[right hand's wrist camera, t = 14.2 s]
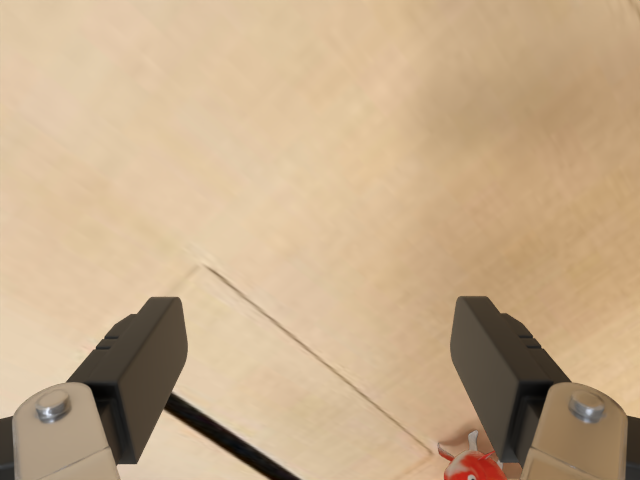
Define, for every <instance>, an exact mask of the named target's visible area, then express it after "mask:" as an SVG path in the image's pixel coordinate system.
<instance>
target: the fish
mask: <svg viewBox="0 0 640 480" xmlns="http://www.w3.org/2000/svg"><path fill="white" fill-rule="evenodd" d="M477 436H478V431H477V430H475V431H473V432H472V433H470V434H469V435H468V441H469V450H465V451H464V452H462V453H460V454H459V455H458V456H456V457H455V458H454V457H453V456H452V455H451V454H449V453H447V452H446V451H444V450H443V449H441V448H440V447H439V443H438V451H439V454H440V455H441V456H442V457H444V458H446V459H447V460H449V461H451V462H450V464H449V466H448V467H447V468H446V470H445V472H444V480H507V478H506V476H505V474H504V473H503V463H500V461H499V459H498V461H497V463H496V462H494V461H493V460H492V459H491V458H490V457H489V456H490V455H491V454H492V453H496V452H495V451H493V452H490V453H488V454H483V453H482V452H479V451H477Z"/></svg>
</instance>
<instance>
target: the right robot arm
mask: <svg viewBox="0 0 640 480" xmlns="http://www.w3.org/2000/svg"><path fill="white" fill-rule="evenodd" d="M450 350H451V357H452V361H453V364H454V366H455V368H456V370H457V372H458V375H459V377H460V379H461V381H462V383H463V385H464V387H465V389H466V391H467V394H468V396H469V398H470V400H471V402H472V404H473V406H474V408H475V410H476V412H477V415H478V417H479V419H480V421H481V423H482V425H483V427H484V429H485V431H486V433H487V436H488V438H489V440H490V442H491V444H492V446H493V448H494V450H495V452H496V455H497V457H498V459H499V461H500V463H520V465H521V467H522V469H523V470H522V474H521V477H520V480H640V418H636V417H631V416H627V415H626V413H625V412H624V410H623V409H622V408H621V407H620V405H619V404H618V403H616V402H615V401H614V400H613V399H612V398H610V397H609V396H607V395H606V394H604V393H602V392H600V391H598V390H596V389H594V388H592V387H589V386H586V385H583V384H578V383H572V382H571V381H570V379H569V378H568V377H567V376H566V375H565V374H564V372H563V371H562V370H561V369H560V368H559V366H558V365H557V364H556V363H555V362H554V360H553V359H552V358H551V357H550V356H549V355H548V353H547V352H546V351H545V350H544V349H542V348H541V345H540V344H539V343H538V341H537V340H536V339H535V338H533V336H532V334H531V333H530V332H529V331H528V330H527V328H526V327H525V326H524V325H523V324H522V323H521V322H519V321H518V320H516V319H514V318H513V317H511V316H510V315H508V314H507V313H500V312H499V311H498V309H497V308H496V307H495V306H494V304H493V303H492V302H491V301H490V299H489V298H488V297H486V296H460V297H458V299H457V302H456V307H455V314H454V321H453V328H452V334H451V342H450ZM187 351H188V342H187V335H186V328H185V322H184V315H183V308H182V303H181V300H180V298H179V297H151V298H150V299H149V300H148V301H147V302H146V303H145V305H144V306H143V307H142V308H141V310H140V311H139V312H138V313H137V314H131V315H129V316H127V317H126V318H124V319H123V320H121V321H120V322H118V323H117V324H115V325H114V326H113V327H112V329H111V330H110V331H109V332H108V333H107V334H106V336H105V338H104V339H102V340H101V341H100V343H99V344H98V345H97V346H96V349H95V350H93V351H92V352H91V353H90V354H89V356H88V357H87V358H86V359H85V360H84V361H83V363H82V364H81V365H80V366H79V367H78V369H77V370H76V371H75V372H74V373H73V374H72V376H71V377H70V378H69V379H68V380H67V381H66V383H62V384H57V385H54V386H51V387H48V388H46V389H44V390H42V391H40V392H38V393H36V394H34V395H33V396H31V397H30V398H28V399H27V400H26V401H25V402H24V403H22V404H21V405H20V407H19V408H18V409H17V410H16V412H15V413H14V416H11V417H7V418H3V419H0V480H120V477H119V474H118V470H117V467H116V466H117V465H118V464H137V462H138V460H139V458H140V456H141V454H142V452H143V450H144V448H145V446H146V444H147V442H148V440H149V438H150V435H151V433H152V431H153V429H154V427H155V425H156V423H157V421H158V419H159V417H160V415H161V413H162V411H163V408H164V406H165V404H166V402H167V400H168V398H169V396H170V394H171V392H172V390H173V388H174V386H175V383H176V381H177V379H178V377H179V375H180V373H181V371H182V369H183V367H184V365H185V362H186V358H187Z"/></svg>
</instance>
